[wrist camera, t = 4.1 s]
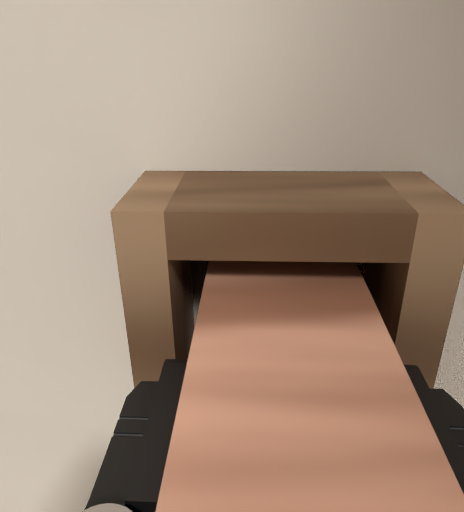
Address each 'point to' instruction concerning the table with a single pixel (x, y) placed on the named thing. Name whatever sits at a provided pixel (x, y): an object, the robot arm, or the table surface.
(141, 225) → the holder
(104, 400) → the table surface
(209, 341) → the terracotta block
